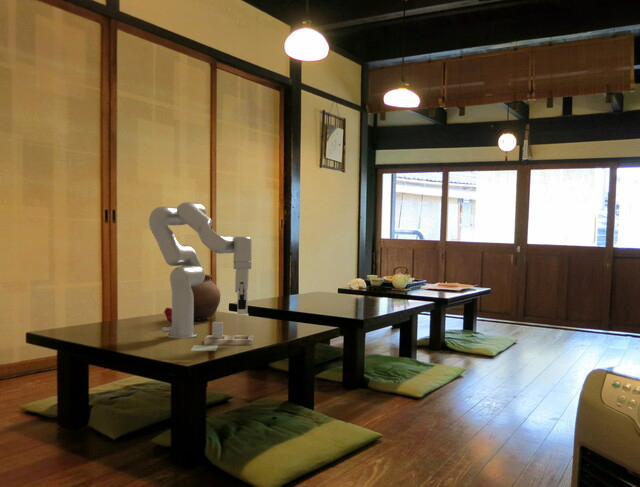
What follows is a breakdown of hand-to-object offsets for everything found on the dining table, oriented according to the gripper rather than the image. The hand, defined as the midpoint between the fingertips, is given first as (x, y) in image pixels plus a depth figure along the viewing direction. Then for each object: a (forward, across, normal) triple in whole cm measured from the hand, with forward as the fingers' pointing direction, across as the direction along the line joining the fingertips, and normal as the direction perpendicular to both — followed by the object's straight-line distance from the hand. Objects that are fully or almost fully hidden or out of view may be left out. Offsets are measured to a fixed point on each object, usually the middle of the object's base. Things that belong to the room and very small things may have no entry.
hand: (242, 308), depth 231 cm
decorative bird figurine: (+15, -41, -33) cm, 55 cm away
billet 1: (+15, 0, -10) cm, 18 cm away
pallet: (+15, 0, -5) cm, 16 cm away
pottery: (+15, -61, -26) cm, 68 cm away
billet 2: (+2, 0, 0) cm, 2 cm away
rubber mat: (+15, +11, -14) cm, 23 cm away
